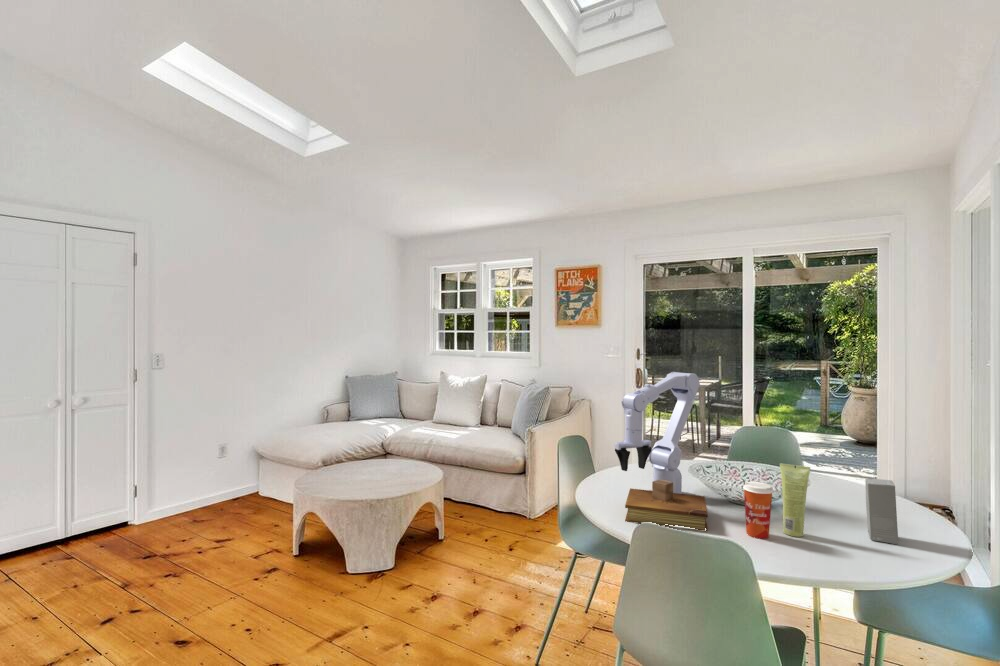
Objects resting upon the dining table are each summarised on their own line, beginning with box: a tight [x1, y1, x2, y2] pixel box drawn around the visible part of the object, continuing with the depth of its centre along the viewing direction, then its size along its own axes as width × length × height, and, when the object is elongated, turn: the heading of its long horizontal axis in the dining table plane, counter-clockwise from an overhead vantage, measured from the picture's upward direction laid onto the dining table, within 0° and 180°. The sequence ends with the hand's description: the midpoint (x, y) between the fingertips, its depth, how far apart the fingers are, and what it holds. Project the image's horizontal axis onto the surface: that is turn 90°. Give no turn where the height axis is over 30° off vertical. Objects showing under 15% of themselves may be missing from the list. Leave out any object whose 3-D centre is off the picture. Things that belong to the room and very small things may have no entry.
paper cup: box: [742, 481, 775, 540], centre depth 145 cm, size 8×8×14 cm
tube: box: [779, 462, 811, 538], centre depth 146 cm, size 6×5×20 cm
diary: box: [624, 487, 709, 532], centre depth 159 cm, size 23×19×6 cm
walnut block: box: [651, 479, 673, 501], centre depth 161 cm, size 4×4×5 cm
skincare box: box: [864, 477, 899, 546], centre depth 144 cm, size 8×7×16 cm
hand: (632, 469), depth 174 cm, fingers open, 7 cm apart
